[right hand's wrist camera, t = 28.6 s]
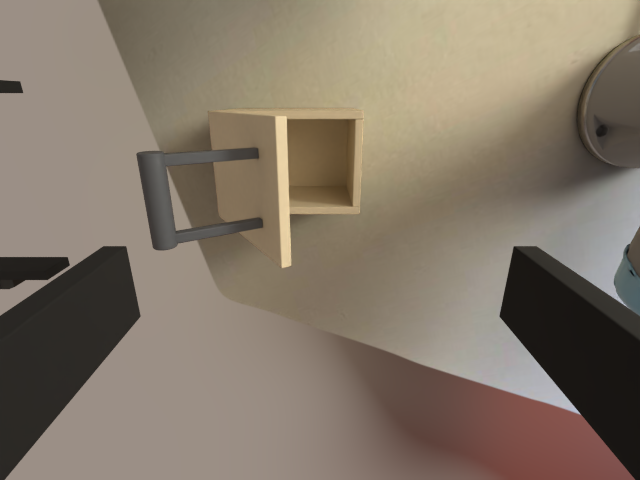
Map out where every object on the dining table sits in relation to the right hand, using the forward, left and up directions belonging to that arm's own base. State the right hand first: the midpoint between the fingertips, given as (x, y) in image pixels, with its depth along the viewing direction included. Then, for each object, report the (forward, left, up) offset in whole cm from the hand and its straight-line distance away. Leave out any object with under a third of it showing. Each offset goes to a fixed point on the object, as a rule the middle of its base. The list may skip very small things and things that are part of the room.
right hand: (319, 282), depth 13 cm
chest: (+1, -3, -36) cm, 36 cm away
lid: (+2, -6, -19) cm, 19 cm away
